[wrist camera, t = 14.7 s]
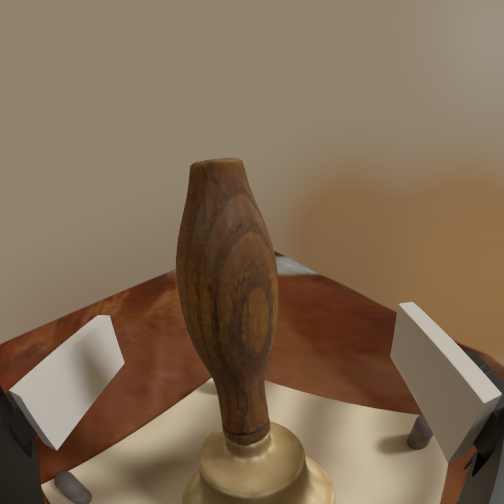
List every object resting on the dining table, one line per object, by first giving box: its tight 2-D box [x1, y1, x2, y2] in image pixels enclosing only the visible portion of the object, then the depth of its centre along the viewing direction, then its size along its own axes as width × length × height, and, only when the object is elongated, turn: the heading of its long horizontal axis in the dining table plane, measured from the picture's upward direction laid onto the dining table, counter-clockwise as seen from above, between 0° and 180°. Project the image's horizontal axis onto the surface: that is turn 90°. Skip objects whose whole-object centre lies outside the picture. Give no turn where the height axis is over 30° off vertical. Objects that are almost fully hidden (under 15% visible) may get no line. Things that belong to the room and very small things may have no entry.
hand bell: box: [176, 158, 335, 504], centre depth 8 cm, size 8×8×16 cm
